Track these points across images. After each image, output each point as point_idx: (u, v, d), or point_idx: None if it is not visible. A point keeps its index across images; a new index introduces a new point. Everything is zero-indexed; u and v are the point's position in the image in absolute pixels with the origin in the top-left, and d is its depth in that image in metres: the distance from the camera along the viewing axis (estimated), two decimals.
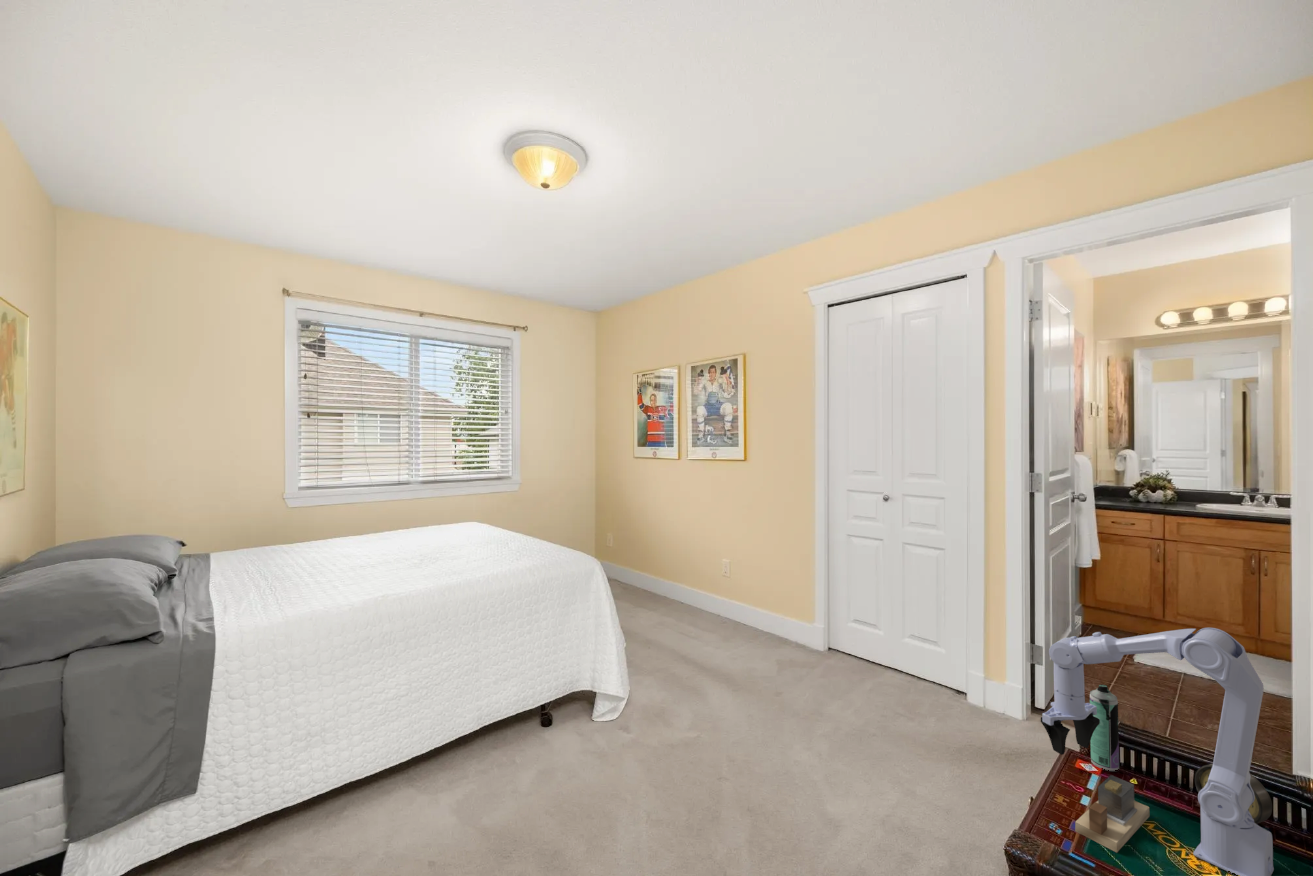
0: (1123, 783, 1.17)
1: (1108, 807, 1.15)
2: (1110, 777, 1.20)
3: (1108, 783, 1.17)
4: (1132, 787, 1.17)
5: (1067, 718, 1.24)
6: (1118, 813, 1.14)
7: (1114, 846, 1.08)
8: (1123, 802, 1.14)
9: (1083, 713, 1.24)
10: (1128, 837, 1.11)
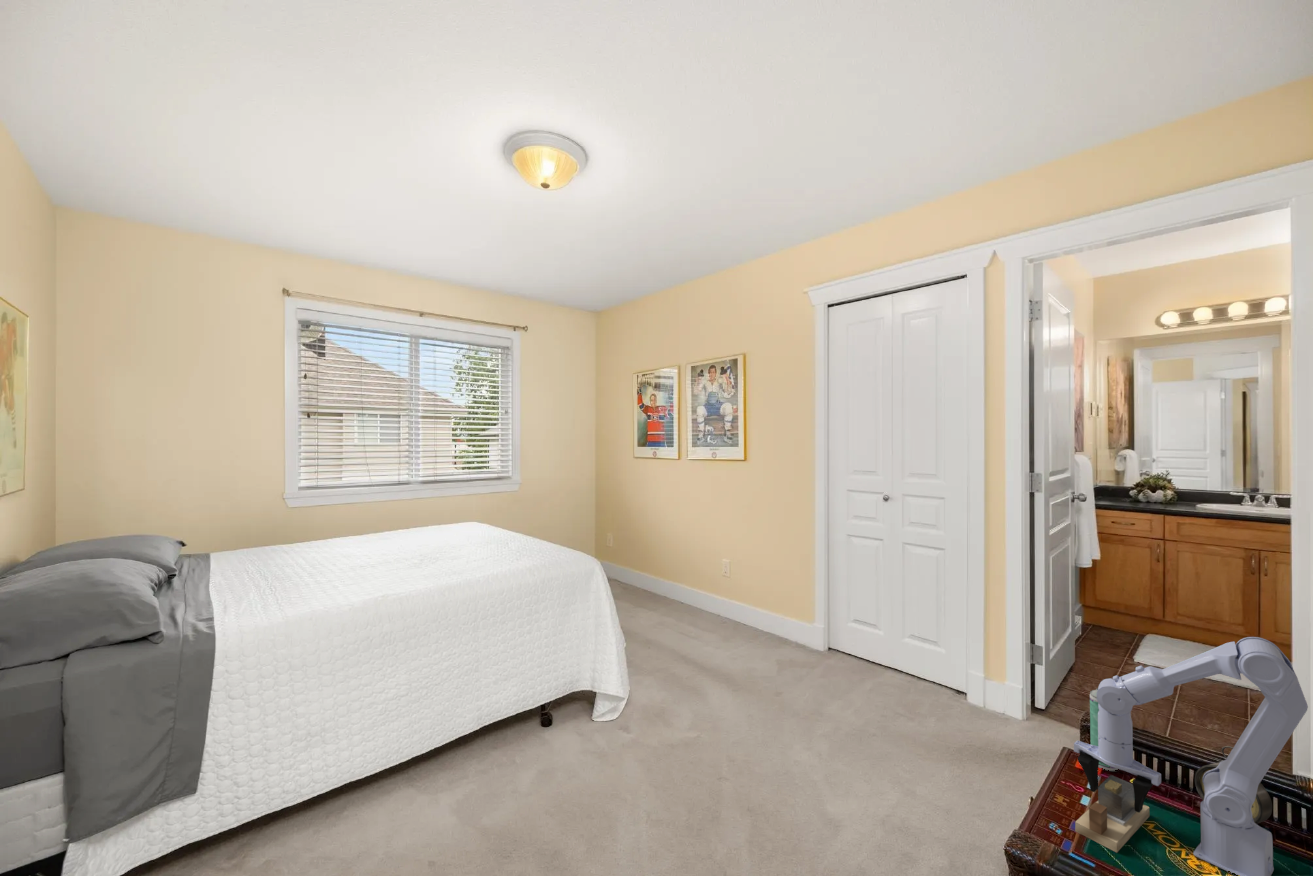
0: (1123, 783, 1.17)
1: (1108, 807, 1.15)
2: (1110, 777, 1.20)
3: (1108, 783, 1.17)
4: (1132, 787, 1.17)
5: (1092, 754, 1.19)
6: (1118, 813, 1.14)
7: (1114, 846, 1.08)
8: (1123, 802, 1.14)
9: (1113, 761, 1.15)
10: (1128, 837, 1.11)
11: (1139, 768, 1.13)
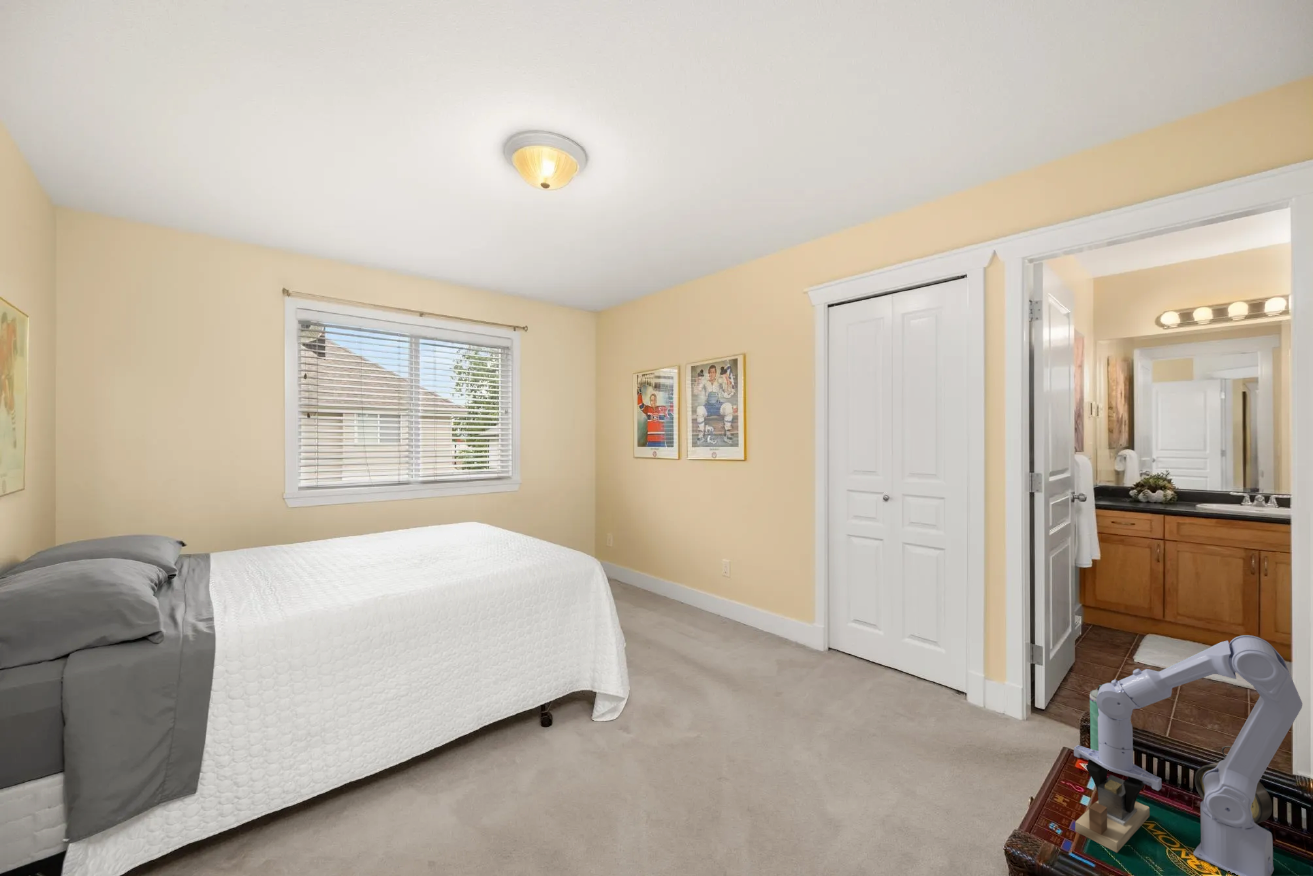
0: None
1: (1108, 807, 1.15)
2: (1110, 777, 1.20)
3: (1108, 783, 1.17)
4: None
5: (1092, 759, 1.19)
6: (1118, 813, 1.14)
7: (1114, 846, 1.08)
8: (1123, 802, 1.14)
9: (1113, 766, 1.15)
10: (1128, 837, 1.11)
11: (1139, 773, 1.13)
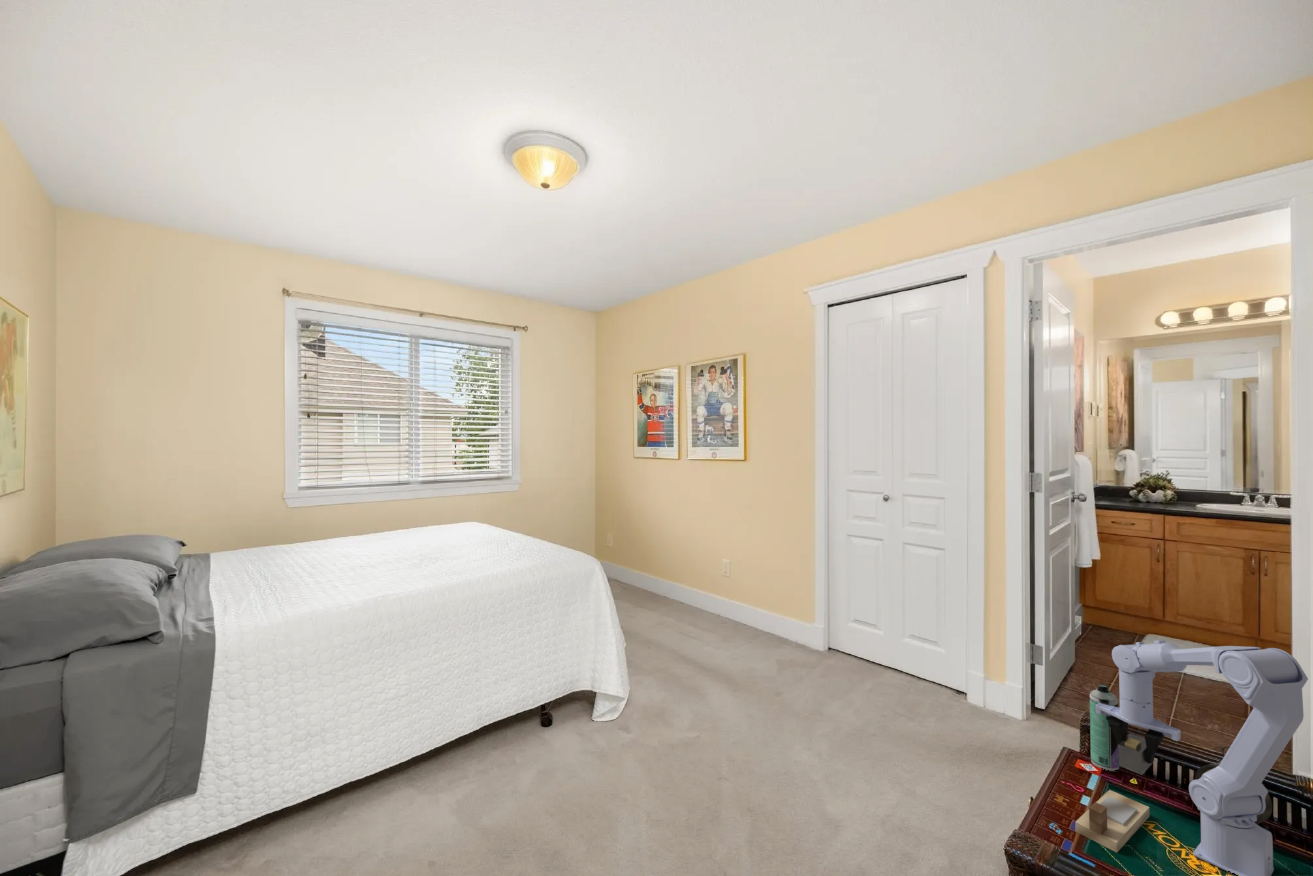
0: (1142, 740, 1.24)
1: (1129, 763, 1.21)
2: (1129, 735, 1.26)
3: (1128, 740, 1.23)
4: None
5: (1114, 715, 1.25)
6: (1138, 768, 1.20)
7: (1114, 846, 1.08)
8: (1142, 758, 1.20)
9: (1134, 719, 1.21)
10: (1128, 837, 1.11)
11: (1159, 725, 1.20)
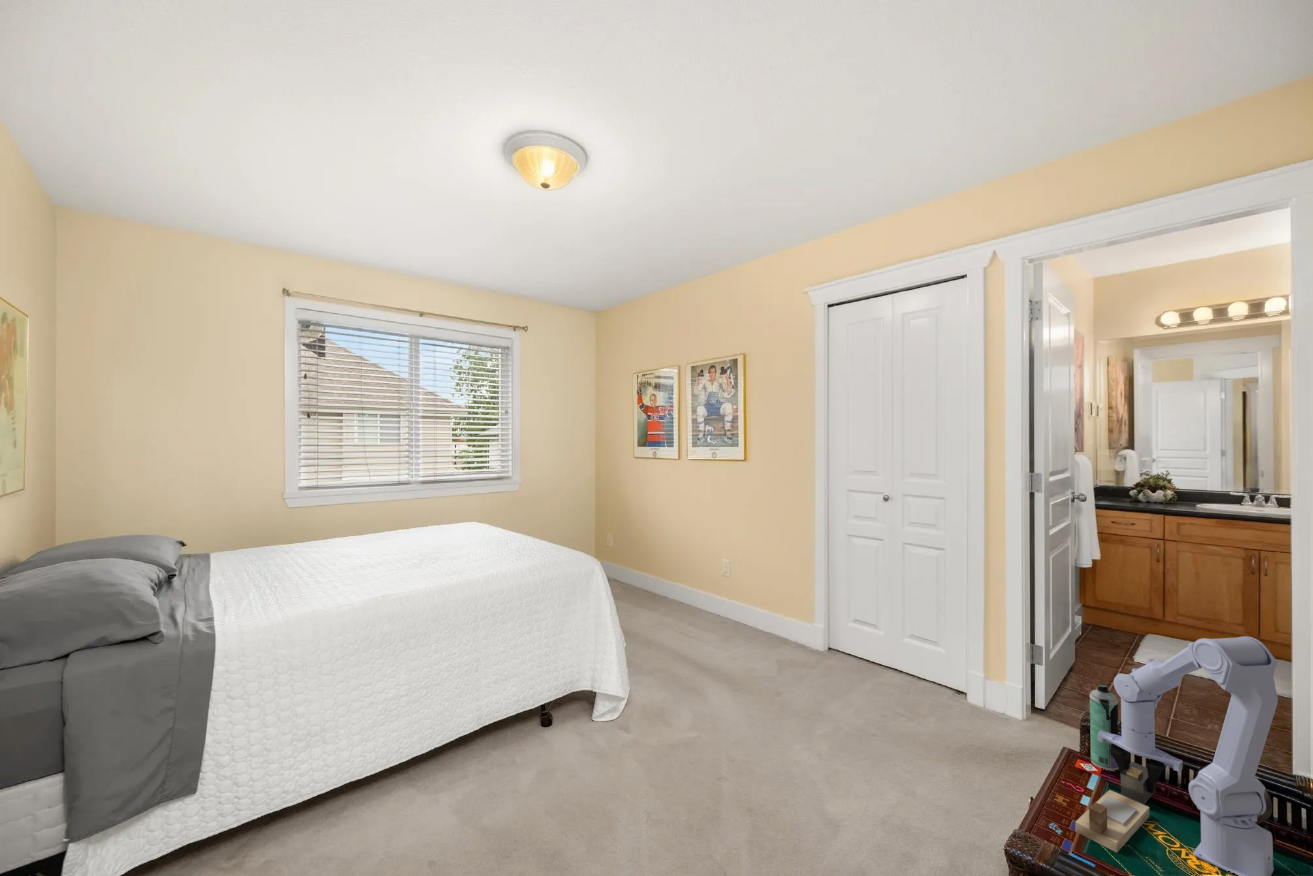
0: (1144, 769, 1.24)
1: (1131, 793, 1.22)
2: (1131, 764, 1.26)
3: (1130, 770, 1.23)
4: None
5: (1116, 743, 1.25)
6: (1140, 798, 1.20)
7: (1114, 846, 1.08)
8: (1144, 788, 1.20)
9: (1136, 749, 1.22)
10: (1128, 837, 1.11)
11: (1161, 755, 1.20)
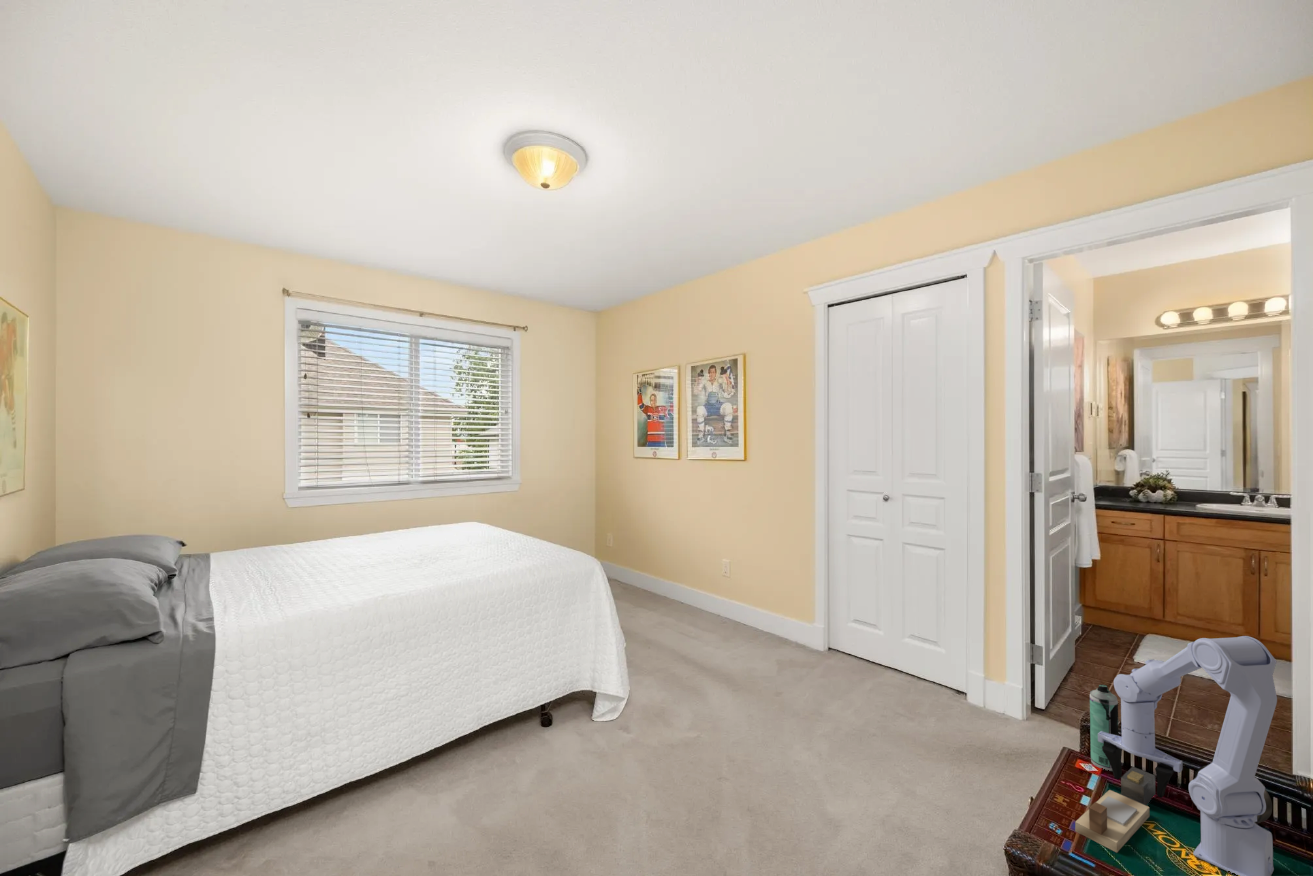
0: (1144, 774, 1.24)
1: (1131, 797, 1.22)
2: (1132, 769, 1.26)
3: (1131, 774, 1.23)
4: (1153, 778, 1.23)
5: (1116, 744, 1.25)
6: (1140, 802, 1.20)
7: (1114, 846, 1.08)
8: (1145, 792, 1.20)
9: (1136, 749, 1.22)
10: (1128, 837, 1.11)
11: (1161, 756, 1.20)
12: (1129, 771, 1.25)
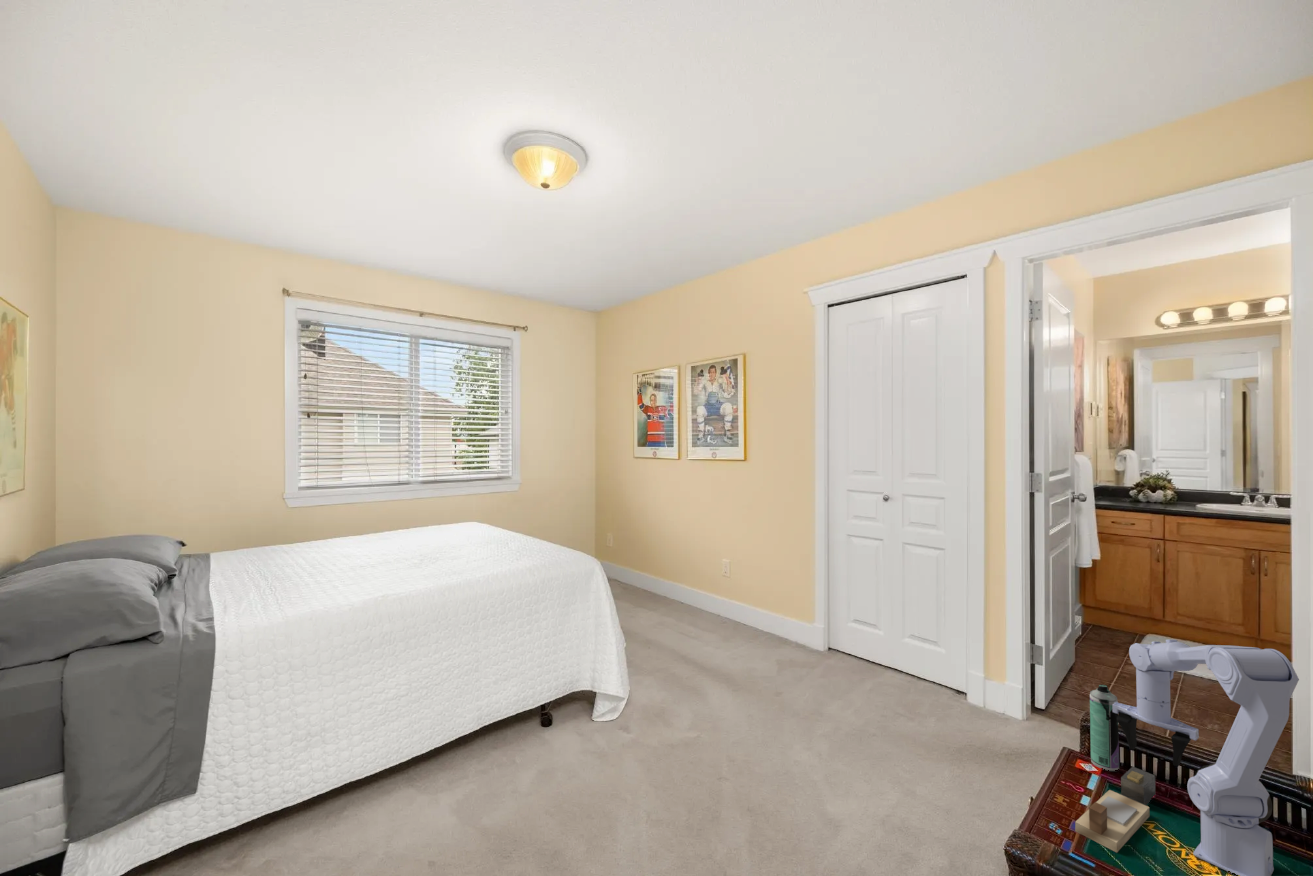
0: (1144, 774, 1.24)
1: (1131, 797, 1.22)
2: (1132, 769, 1.26)
3: (1131, 774, 1.23)
4: (1153, 778, 1.23)
5: (1131, 714, 1.25)
6: (1140, 802, 1.20)
7: (1114, 846, 1.08)
8: (1145, 792, 1.20)
9: (1151, 718, 1.22)
10: (1128, 837, 1.11)
11: (1177, 725, 1.20)
12: (1129, 771, 1.25)
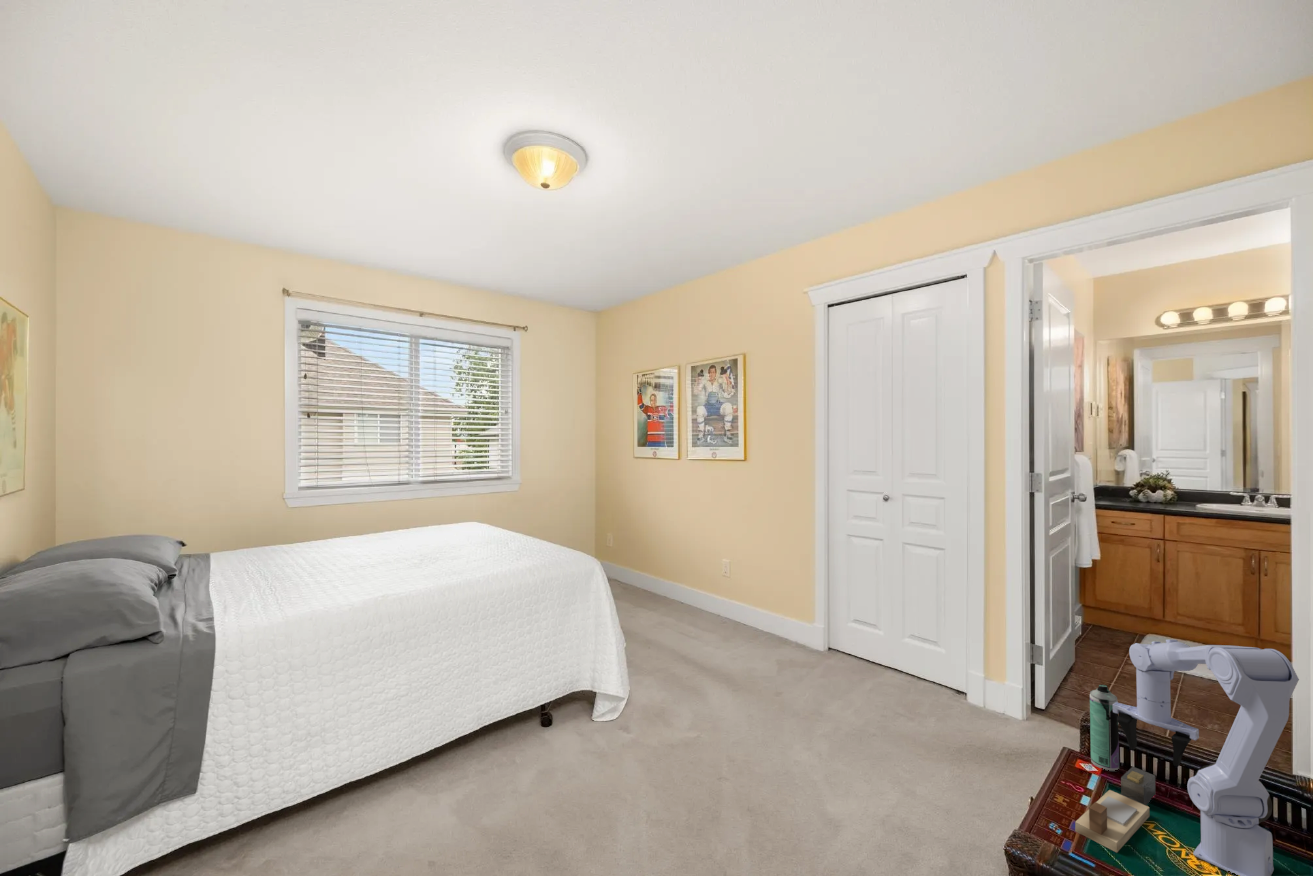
0: (1145, 774, 1.24)
1: (1131, 797, 1.22)
2: (1132, 769, 1.26)
3: (1131, 774, 1.23)
4: (1153, 778, 1.23)
5: (1131, 714, 1.25)
6: (1140, 802, 1.20)
7: (1114, 846, 1.08)
8: (1145, 792, 1.20)
9: (1152, 718, 1.22)
10: (1128, 837, 1.11)
11: (1177, 725, 1.20)
12: (1129, 771, 1.25)
